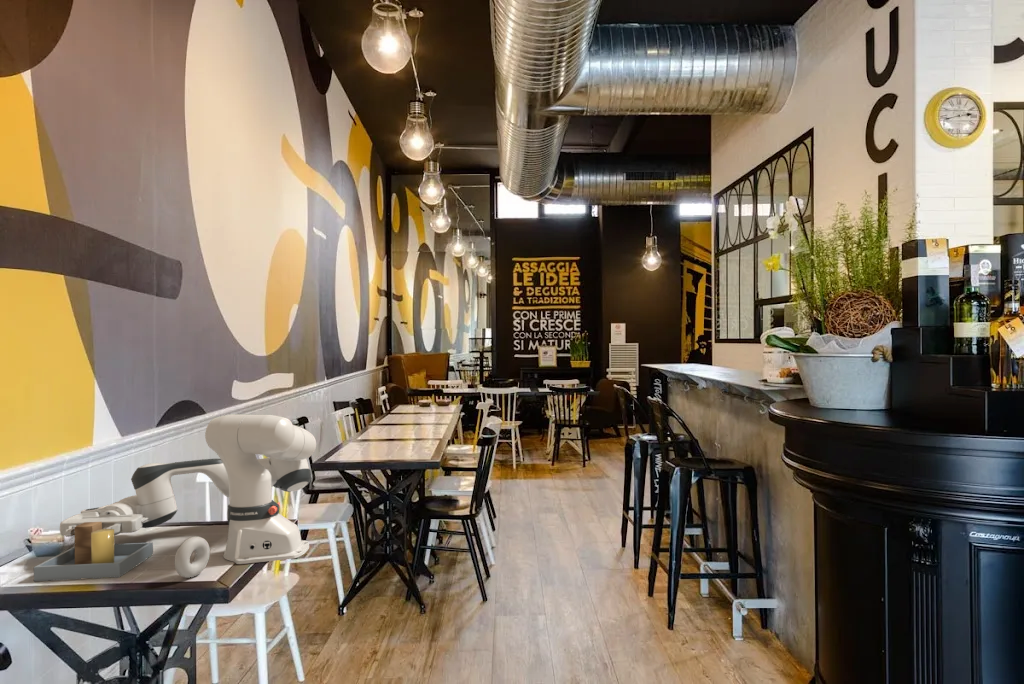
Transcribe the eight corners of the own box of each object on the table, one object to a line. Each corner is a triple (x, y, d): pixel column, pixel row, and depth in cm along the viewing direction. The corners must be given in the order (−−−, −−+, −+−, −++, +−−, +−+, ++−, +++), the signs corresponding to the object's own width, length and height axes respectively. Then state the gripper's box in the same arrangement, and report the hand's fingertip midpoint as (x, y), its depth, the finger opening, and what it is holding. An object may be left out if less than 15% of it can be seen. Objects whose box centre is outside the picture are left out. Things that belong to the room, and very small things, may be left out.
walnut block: (102, 558, 173) (101, 521, 173) (92, 563, 168) (92, 526, 168) (84, 558, 172) (84, 522, 172) (74, 564, 168) (74, 527, 168)
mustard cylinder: (118, 566, 166) (118, 528, 166) (108, 572, 161) (107, 533, 161) (98, 567, 165) (98, 529, 165) (87, 574, 160) (87, 534, 160)
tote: (152, 554, 177) (152, 542, 177) (119, 577, 159) (119, 563, 159) (76, 558, 175) (76, 545, 175) (33, 581, 157) (33, 567, 157)
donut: (182, 584, 153) (181, 543, 154) (171, 583, 154) (170, 542, 155) (213, 570, 163) (212, 532, 163) (202, 569, 164) (202, 531, 164)
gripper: (151, 528, 184) (127, 542, 170) (78, 531, 182) (47, 546, 169) (151, 506, 184) (126, 519, 170) (77, 509, 182) (46, 522, 169)
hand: (86, 532), depth 169 cm, fingers open, 8 cm apart
